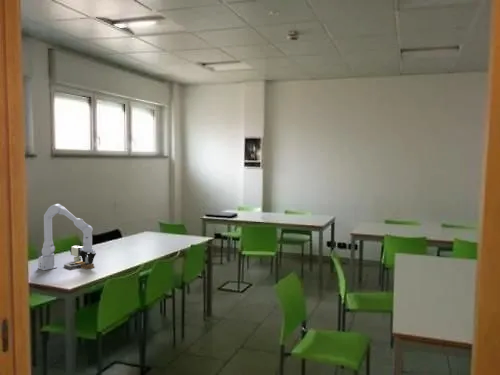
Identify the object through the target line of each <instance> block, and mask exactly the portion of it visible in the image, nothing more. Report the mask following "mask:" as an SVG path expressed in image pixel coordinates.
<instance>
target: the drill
mask: <svg viewBox="0 0 500 375" xmlns="http://www.w3.org/2000/svg"><path fill="white" fill-rule="evenodd" d="M85 265H89V258H88V255H87V256H86V257H85Z"/></svg>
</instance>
